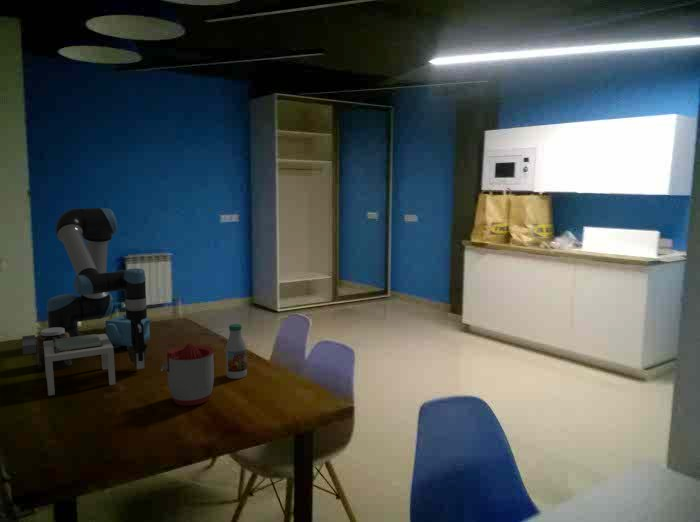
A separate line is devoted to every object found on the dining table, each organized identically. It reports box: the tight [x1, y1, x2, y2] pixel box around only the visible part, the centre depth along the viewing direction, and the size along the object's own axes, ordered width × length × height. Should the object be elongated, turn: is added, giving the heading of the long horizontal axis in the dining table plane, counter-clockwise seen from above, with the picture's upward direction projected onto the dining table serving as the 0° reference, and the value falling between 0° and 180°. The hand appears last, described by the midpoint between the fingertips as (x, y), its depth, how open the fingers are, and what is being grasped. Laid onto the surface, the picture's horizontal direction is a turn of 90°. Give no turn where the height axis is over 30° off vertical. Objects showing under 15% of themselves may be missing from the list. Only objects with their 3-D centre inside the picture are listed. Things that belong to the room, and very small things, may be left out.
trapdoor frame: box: [43, 333, 117, 396], centre depth 200 cm, size 22×22×16 cm
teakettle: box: [105, 313, 154, 350], centre depth 244 cm, size 19×19×15 cm
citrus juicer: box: [160, 343, 215, 407], centre depth 181 cm, size 16×17×20 cm
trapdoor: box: [21, 333, 101, 355], centre depth 196 cm, size 24×14×4 cm, turn 121°
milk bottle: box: [225, 323, 248, 380], centre depth 205 cm, size 8×8×20 cm
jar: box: [36, 327, 73, 371], centre depth 216 cm, size 12×12×15 cm
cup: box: [127, 343, 149, 368], centre depth 211 cm, size 8×7×8 cm
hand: (138, 365), depth 211 cm, fingers closed on cup, 7 cm apart
